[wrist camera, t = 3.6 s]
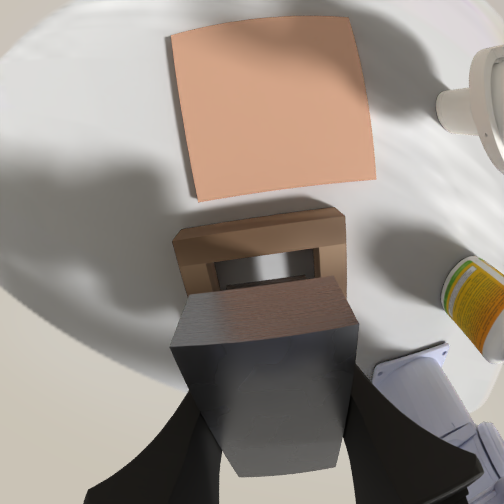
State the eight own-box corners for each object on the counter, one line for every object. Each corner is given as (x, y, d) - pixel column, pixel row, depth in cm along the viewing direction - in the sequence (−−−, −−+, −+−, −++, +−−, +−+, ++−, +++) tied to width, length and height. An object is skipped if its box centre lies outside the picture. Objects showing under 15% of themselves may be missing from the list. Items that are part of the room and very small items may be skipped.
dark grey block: (313, 363, 16) (335, 466, 9) (243, 372, 16) (239, 477, 10) (305, 227, 13) (358, 323, 6) (211, 240, 13) (169, 346, 6)
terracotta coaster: (372, 178, 15) (376, 179, 14) (200, 200, 15) (198, 202, 15) (345, 20, 11) (348, 17, 10) (173, 38, 11) (170, 35, 11)
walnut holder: (337, 330, 19) (344, 348, 17) (214, 346, 19) (210, 365, 17) (334, 207, 15) (345, 216, 13) (181, 229, 16) (172, 241, 14)
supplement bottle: (433, 318, 18) (493, 400, 10) (445, 259, 16) (530, 335, 7) (475, 305, 18) (535, 371, 9) (488, 250, 16) (565, 309, 7)
